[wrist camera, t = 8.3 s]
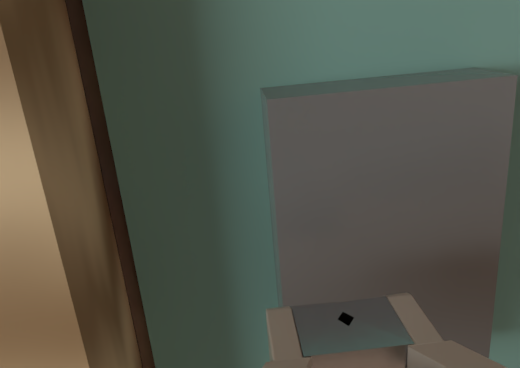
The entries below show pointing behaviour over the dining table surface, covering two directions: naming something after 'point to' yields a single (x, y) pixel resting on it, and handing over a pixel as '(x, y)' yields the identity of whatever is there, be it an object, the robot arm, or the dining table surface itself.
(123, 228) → the dining table surface
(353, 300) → the robot arm
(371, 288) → the slate tile
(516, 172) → the mat
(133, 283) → the dining table surface
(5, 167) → the pine board
